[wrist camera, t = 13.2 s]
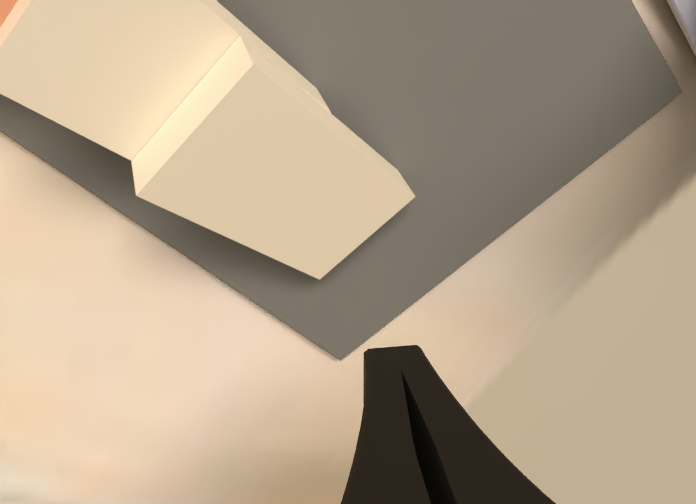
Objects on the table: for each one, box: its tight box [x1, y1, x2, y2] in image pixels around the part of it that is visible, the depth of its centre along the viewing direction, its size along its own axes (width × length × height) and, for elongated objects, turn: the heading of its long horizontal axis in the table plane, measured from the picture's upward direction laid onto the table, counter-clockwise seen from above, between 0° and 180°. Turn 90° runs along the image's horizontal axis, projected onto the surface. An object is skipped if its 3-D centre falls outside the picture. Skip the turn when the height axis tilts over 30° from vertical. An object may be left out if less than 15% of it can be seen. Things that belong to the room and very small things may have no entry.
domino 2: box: [131, 36, 416, 280], centre depth 17 cm, size 5×2×8 cm
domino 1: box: [0, 0, 331, 161], centre depth 15 cm, size 5×2×8 cm
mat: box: [0, 0, 682, 361], centre depth 16 cm, size 18×26×1 cm
